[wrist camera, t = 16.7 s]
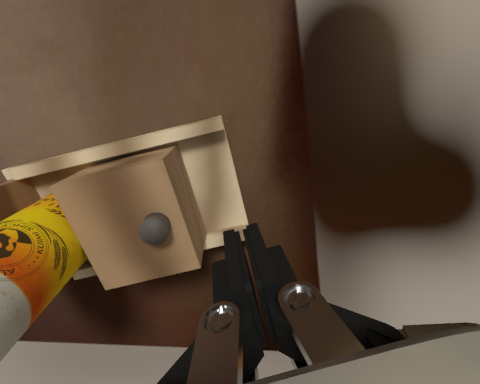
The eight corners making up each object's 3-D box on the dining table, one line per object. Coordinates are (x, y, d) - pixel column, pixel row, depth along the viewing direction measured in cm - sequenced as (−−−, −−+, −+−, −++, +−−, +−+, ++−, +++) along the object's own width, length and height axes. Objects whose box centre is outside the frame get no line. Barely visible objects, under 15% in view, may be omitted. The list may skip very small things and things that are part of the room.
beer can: (116, 189, 24) (-37, 319, 10) (114, 243, 26) (-14, 416, 12) (47, 179, 23) (-225, 305, 9) (52, 235, 25) (-165, 410, 11)
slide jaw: (130, 248, 26) (98, 301, 19) (92, 164, 23) (36, 192, 16) (205, 231, 26) (199, 278, 19) (177, 143, 22) (158, 163, 16)
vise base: (69, 269, 28) (13, 332, 20) (10, 167, 23) (-90, 199, 16) (249, 226, 27) (258, 275, 20) (221, 115, 23) (220, 123, 15)
